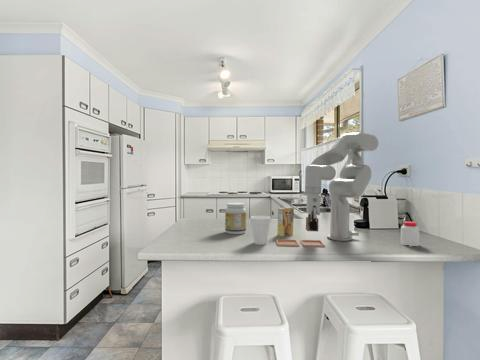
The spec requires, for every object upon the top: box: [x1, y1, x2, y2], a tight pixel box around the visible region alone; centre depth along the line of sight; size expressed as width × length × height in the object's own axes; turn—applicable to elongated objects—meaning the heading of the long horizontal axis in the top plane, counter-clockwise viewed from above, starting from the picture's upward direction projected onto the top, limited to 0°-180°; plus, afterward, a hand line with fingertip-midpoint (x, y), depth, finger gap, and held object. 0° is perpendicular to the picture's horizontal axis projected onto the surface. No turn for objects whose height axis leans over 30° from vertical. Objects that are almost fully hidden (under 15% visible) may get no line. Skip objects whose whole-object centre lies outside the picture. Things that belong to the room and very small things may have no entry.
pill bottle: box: [400, 220, 420, 247], centre depth 143 cm, size 8×8×11 cm
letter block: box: [305, 216, 319, 232], centre depth 141 cm, size 5×5×6 cm
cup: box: [250, 215, 272, 246], centre depth 143 cm, size 10×10×13 cm
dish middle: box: [275, 238, 300, 248], centre depth 142 cm, size 10×10×1 cm
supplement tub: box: [224, 201, 247, 235], centre depth 168 cm, size 12×12×17 cm
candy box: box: [276, 206, 295, 237], centre depth 162 cm, size 9×4×15 cm, turn 129°
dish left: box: [299, 239, 326, 248], centre depth 141 cm, size 10×10×1 cm
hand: (311, 228), depth 141 cm, fingers closed on letter block, 5 cm apart
